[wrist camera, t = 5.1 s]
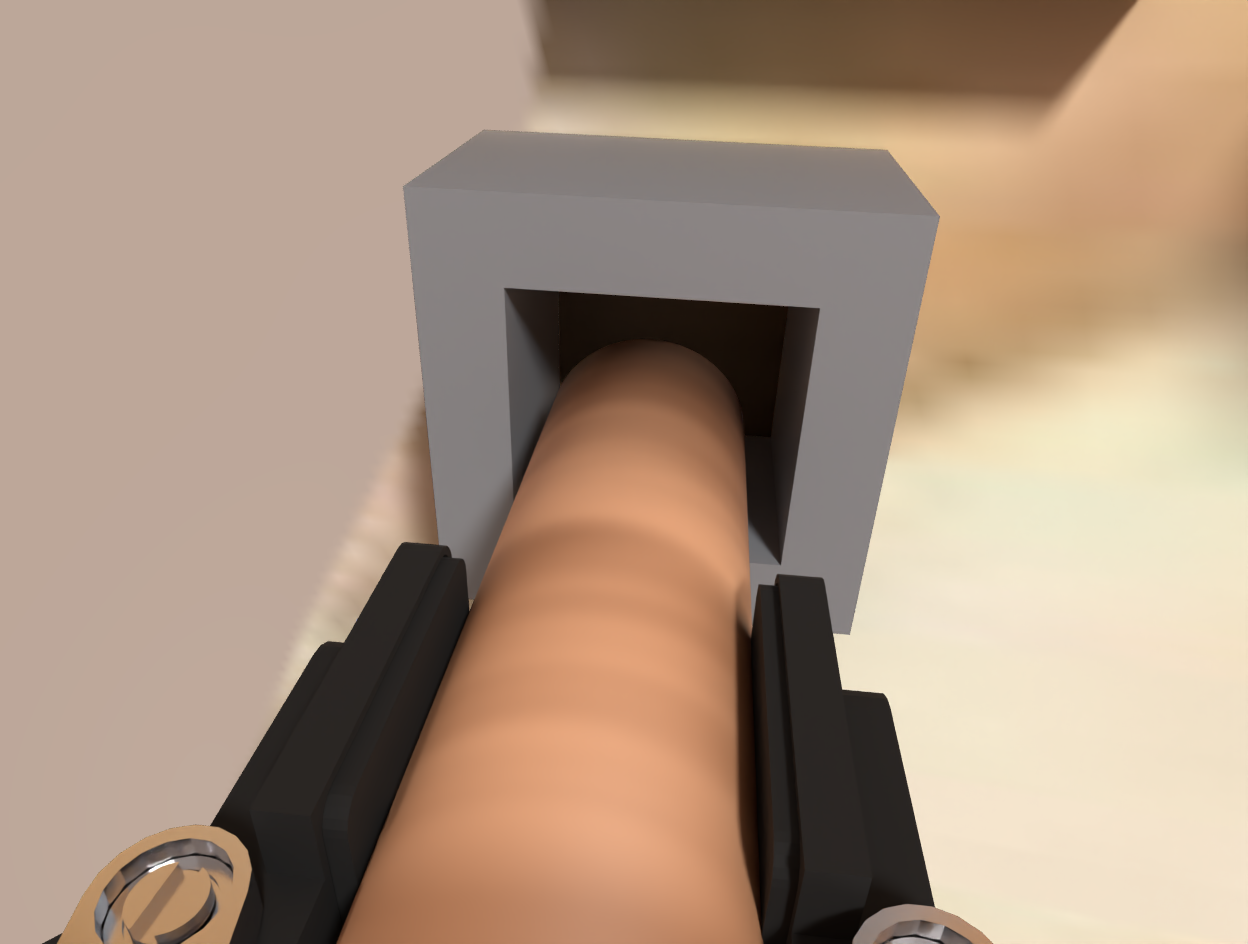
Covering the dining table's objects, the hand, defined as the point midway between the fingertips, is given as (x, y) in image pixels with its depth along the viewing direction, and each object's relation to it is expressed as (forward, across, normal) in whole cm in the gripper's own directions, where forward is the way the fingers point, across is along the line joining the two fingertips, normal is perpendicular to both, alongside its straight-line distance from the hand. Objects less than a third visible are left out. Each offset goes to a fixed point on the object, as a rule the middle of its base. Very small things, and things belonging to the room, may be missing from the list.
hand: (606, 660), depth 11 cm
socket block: (+10, 0, -1) cm, 10 cm away
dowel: (+6, 0, 0) cm, 6 cm away
